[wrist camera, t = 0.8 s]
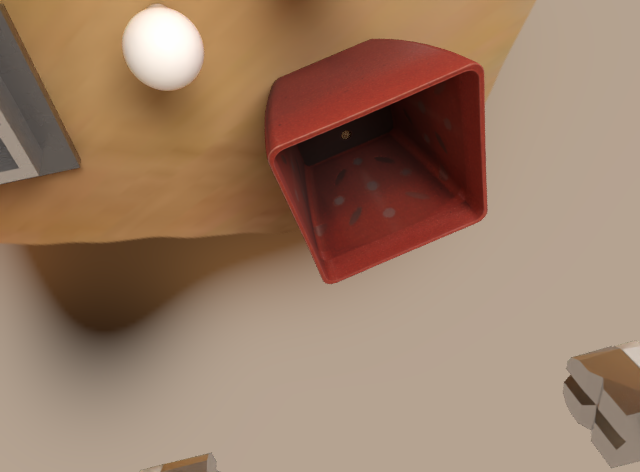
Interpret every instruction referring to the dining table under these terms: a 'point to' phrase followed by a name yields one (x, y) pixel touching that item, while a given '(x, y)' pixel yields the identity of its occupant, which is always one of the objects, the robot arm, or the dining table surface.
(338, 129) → the plant pot
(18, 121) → the collar holder
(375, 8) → the dining table surface
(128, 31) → the lightbulb
